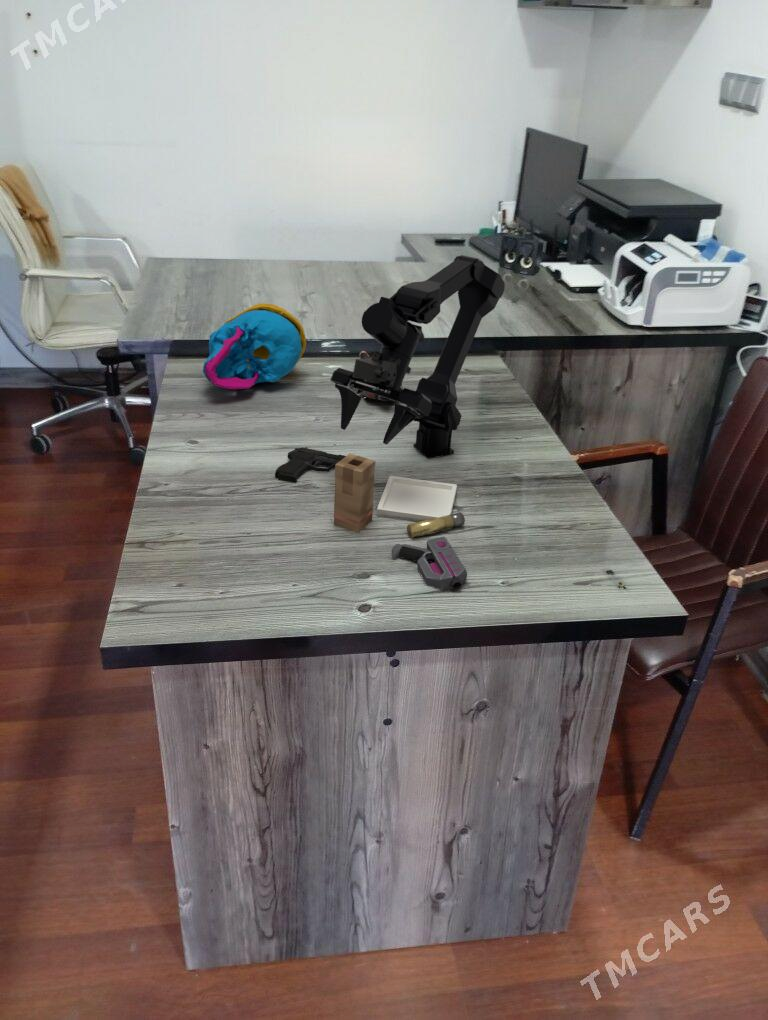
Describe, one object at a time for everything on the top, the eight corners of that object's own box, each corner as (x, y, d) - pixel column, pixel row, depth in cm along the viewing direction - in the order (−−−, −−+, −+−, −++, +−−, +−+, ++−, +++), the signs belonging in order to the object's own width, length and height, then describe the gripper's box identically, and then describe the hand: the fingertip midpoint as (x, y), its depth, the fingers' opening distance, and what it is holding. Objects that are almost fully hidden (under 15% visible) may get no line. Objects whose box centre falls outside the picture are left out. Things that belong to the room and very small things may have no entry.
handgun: (358, 487, 156) (372, 456, 166) (273, 470, 158) (291, 440, 168) (357, 499, 158) (371, 467, 167) (272, 482, 160) (291, 452, 169)
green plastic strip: (631, 588, 134) (620, 590, 133) (630, 591, 134) (619, 593, 134) (611, 566, 139) (600, 568, 138) (610, 570, 139) (600, 571, 139)
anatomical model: (217, 416, 187) (213, 385, 209) (323, 382, 189) (308, 355, 211) (190, 342, 179) (189, 318, 201) (300, 308, 181) (287, 288, 204)
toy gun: (412, 604, 130) (472, 590, 132) (411, 587, 128) (472, 574, 130) (387, 555, 141) (443, 543, 143) (386, 539, 139) (443, 527, 141)
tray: (389, 482, 161) (389, 475, 160) (456, 491, 159) (457, 484, 158) (376, 516, 150) (377, 509, 149) (448, 526, 148) (449, 519, 147)
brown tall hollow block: (347, 512, 150) (349, 453, 144) (372, 520, 148) (375, 460, 142) (333, 525, 146) (334, 464, 140) (358, 533, 144) (361, 472, 138)
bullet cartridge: (456, 521, 149) (458, 509, 148) (464, 527, 148) (465, 516, 146) (406, 533, 145) (407, 521, 144) (413, 540, 143) (414, 528, 142)
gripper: (332, 326, 146) (299, 409, 145) (422, 351, 137) (387, 440, 137) (361, 348, 155) (330, 426, 155) (447, 373, 147) (414, 455, 147)
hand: (363, 436), depth 148 cm, fingers open, 9 cm apart
